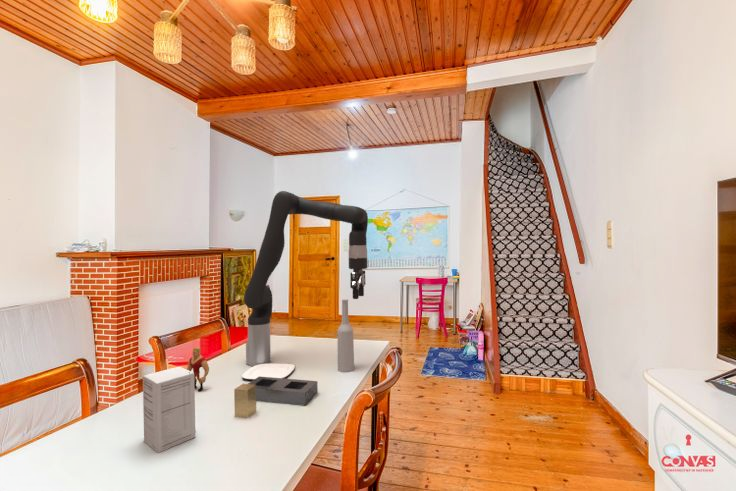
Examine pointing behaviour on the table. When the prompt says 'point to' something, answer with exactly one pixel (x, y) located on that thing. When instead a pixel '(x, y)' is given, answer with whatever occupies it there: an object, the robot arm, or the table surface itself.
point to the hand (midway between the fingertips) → (358, 297)
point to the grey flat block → (284, 390)
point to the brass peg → (245, 400)
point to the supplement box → (168, 408)
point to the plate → (268, 371)
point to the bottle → (345, 342)
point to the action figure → (198, 367)
